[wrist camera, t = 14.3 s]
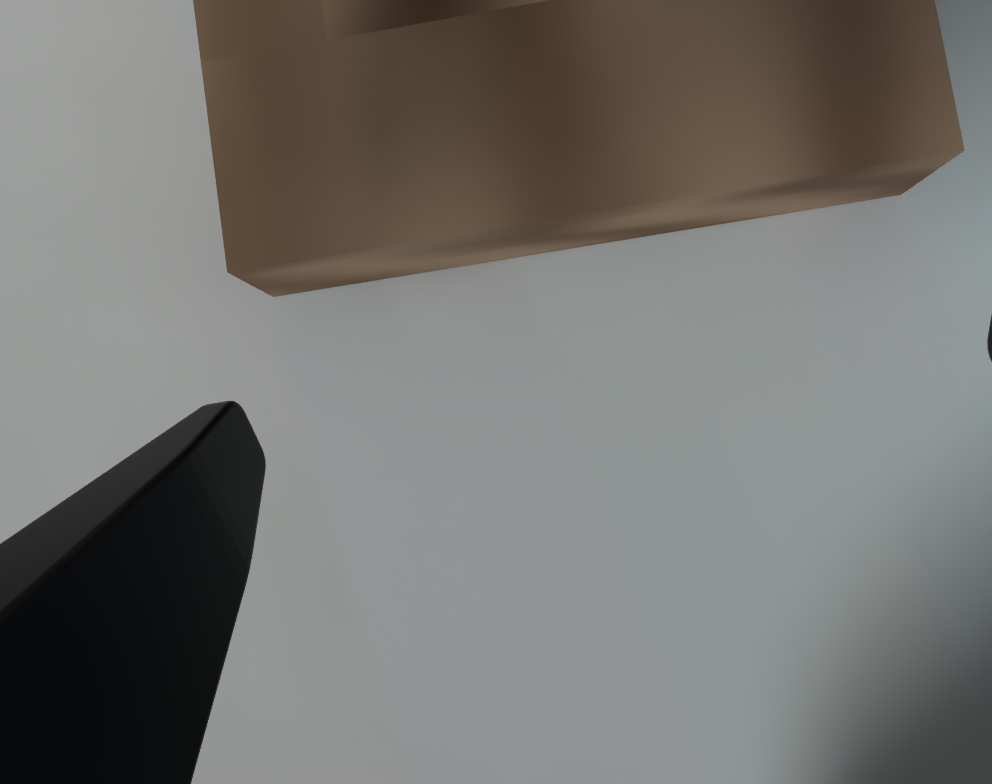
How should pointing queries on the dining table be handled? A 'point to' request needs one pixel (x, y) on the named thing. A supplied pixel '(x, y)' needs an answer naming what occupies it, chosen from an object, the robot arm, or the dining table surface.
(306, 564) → the dining table surface
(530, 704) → the dining table surface
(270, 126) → the keyhole board
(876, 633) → the dining table surface
